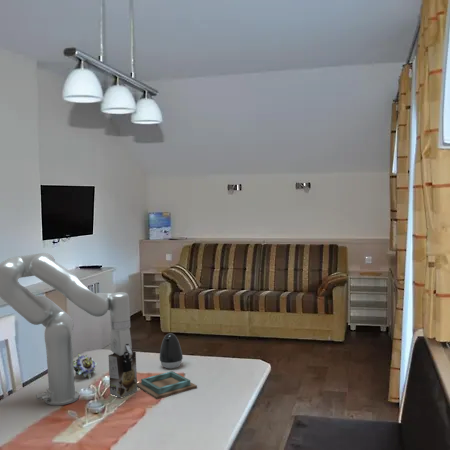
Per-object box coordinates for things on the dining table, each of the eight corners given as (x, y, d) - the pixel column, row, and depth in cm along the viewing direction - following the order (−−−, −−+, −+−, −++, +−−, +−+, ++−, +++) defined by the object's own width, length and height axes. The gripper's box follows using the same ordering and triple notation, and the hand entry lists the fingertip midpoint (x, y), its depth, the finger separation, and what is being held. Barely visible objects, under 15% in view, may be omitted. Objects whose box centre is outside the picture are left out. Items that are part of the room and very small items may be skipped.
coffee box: (120, 398, 208) (118, 357, 207) (109, 395, 212) (107, 354, 211) (138, 391, 215) (136, 351, 214) (127, 388, 219) (125, 348, 218)
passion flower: (89, 390, 233) (81, 373, 225) (69, 382, 237) (60, 366, 229) (104, 369, 240) (97, 352, 233) (84, 362, 245) (76, 345, 237)
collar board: (156, 399, 206) (156, 391, 206) (135, 386, 221) (135, 379, 220) (196, 387, 216) (196, 380, 216) (174, 375, 231) (173, 369, 231)
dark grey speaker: (156, 370, 239) (154, 336, 238) (165, 362, 249) (164, 329, 248) (177, 371, 236) (176, 337, 235) (186, 363, 246) (184, 330, 245)
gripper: (102, 322, 216) (104, 365, 218) (121, 330, 202) (123, 376, 203) (119, 318, 221) (122, 361, 222) (139, 327, 206) (141, 372, 208)
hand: (122, 368), depth 213 cm, fingers closed on coffee box, 7 cm apart
